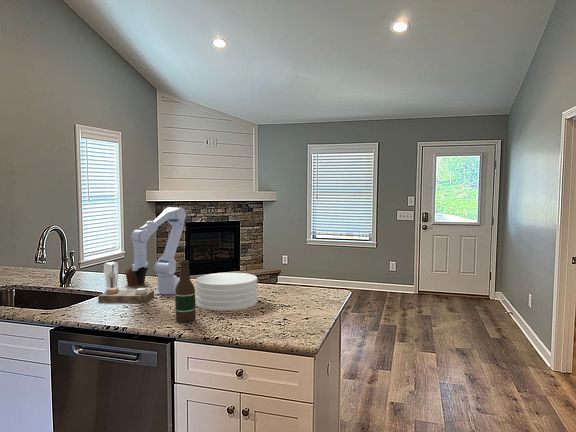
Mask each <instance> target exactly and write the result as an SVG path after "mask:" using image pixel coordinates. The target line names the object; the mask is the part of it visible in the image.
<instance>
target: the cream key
mask: <svg viewBox="0 0 576 432" xmlns="http://www.w3.org/2000/svg"><path fill="white" fill-rule="evenodd" d="M134 290H135V294H145V293H147V290H148V289H147V287H138V288H136V289H134Z"/></svg>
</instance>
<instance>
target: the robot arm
mask: <svg viewBox="0 0 576 432" xmlns="http://www.w3.org/2000/svg"><path fill="white" fill-rule="evenodd" d="M186 217H187V213H186V210H185V208H184V207H171V206H169V207H166V208H165V209H163V210H162V212H161V213H160V214H159V215H158V216H157V217H156V218H155V219H154V220H147V221H146V222H145V223H144V225H142V226H140V227H139V228H138V229H134V230H133V231H132V233H131V235H130V240H131V241H132V245H133V264H131V267H132V271H133V272H134V273H135V275H136V277H137V281H138V284H143V283H144V279H145V280H146V276H145V275H146V274H147V273H148V270H149V268H148V267H149V262H148V261H147V258H148V257H147V255H148V254H147V253H148V252H147V242H148V241H149V239H150V237H151V236H152V235H153V234H154V233H155V232H157V231H158V228H159V226H160V225H162V224H164V223H165V222H168V223H169V224H170V225H171V229H170V232H169V236H168V238H167V241H166V246H165V249H164V251H163V253H162V255H161V256H160V257H158V258H157V261H156V262H155V264H154V268H153V269H154V272H155V273H156V276H157V291H156V292H154V295H175V289H176V286H177V284H178V282H179V280H178V276H177V275H174V274H175V273H176V270H177V261H176V259H175V256H176V253H177V249H178V245H179V243H180V240H181V236H182V233H183V230H184V225H185V220H186ZM144 284H145V283H144Z"/></svg>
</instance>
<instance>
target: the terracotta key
mask: <svg viewBox="0 0 576 432" xmlns="http://www.w3.org/2000/svg"><path fill="white" fill-rule="evenodd" d="M105 290H106V289H105ZM118 290H119V287H117V288H109V289H107V290H106V294H116V293H118Z"/></svg>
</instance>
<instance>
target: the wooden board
mask: <svg viewBox="0 0 576 432" xmlns="http://www.w3.org/2000/svg"><path fill="white" fill-rule="evenodd" d="M135 290H136V289H118V293H116V294H106V292H105V291H104V292H103V293H101V294H99V295H98V297H97V298H98V302H97V303H140V304H141V303H146V302H148V301H149V300H152V299H153V298H154V297H155V290H154V289H153V290H152V289H151V290H150V289H147V293H145V294H135Z"/></svg>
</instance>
